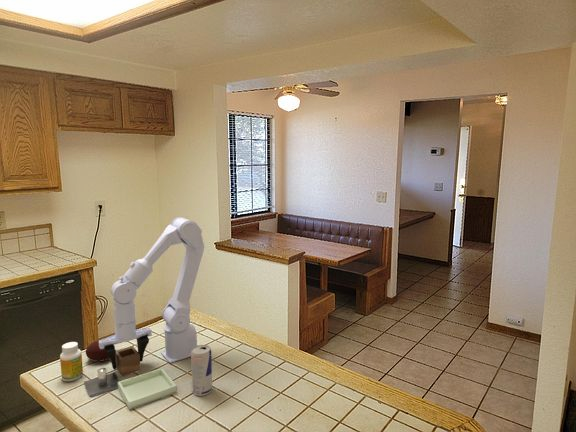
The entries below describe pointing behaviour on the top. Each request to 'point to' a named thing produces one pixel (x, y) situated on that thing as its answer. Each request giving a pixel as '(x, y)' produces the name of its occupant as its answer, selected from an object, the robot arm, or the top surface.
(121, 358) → the brown wooden box
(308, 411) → the top surface
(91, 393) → the light stand
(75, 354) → the supplement bottle
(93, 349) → the potato
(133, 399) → the tray
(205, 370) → the energy drink
